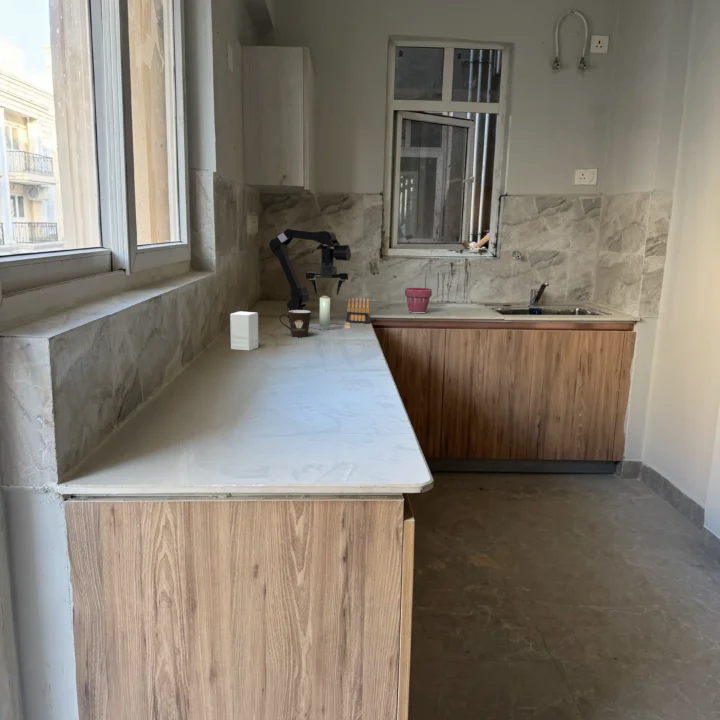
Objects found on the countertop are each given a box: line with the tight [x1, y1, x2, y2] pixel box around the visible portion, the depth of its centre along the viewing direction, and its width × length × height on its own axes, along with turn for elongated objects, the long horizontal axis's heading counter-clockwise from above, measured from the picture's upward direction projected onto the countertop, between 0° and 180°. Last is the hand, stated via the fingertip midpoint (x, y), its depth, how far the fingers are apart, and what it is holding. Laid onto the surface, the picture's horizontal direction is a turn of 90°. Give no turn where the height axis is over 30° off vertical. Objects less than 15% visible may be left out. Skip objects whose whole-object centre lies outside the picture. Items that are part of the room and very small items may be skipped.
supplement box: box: [229, 310, 259, 351], centre depth 215 cm, size 7×7×13 cm
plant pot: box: [404, 287, 433, 313], centre depth 326 cm, size 14×14×13 cm
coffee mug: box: [278, 309, 312, 339], centre depth 243 cm, size 12×9×10 cm
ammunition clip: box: [345, 296, 371, 325], centre depth 283 cm, size 11×2×12 cm, turn 78°
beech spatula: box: [344, 321, 351, 329], centre depth 275 cm, size 13×2×1 cm, turn 1°
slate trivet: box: [309, 322, 343, 331], centre depth 267 cm, size 11×11×1 cm
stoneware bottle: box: [318, 295, 331, 326], centre depth 266 cm, size 4×4×13 cm
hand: (326, 295), depth 275 cm, fingers open, 9 cm apart
